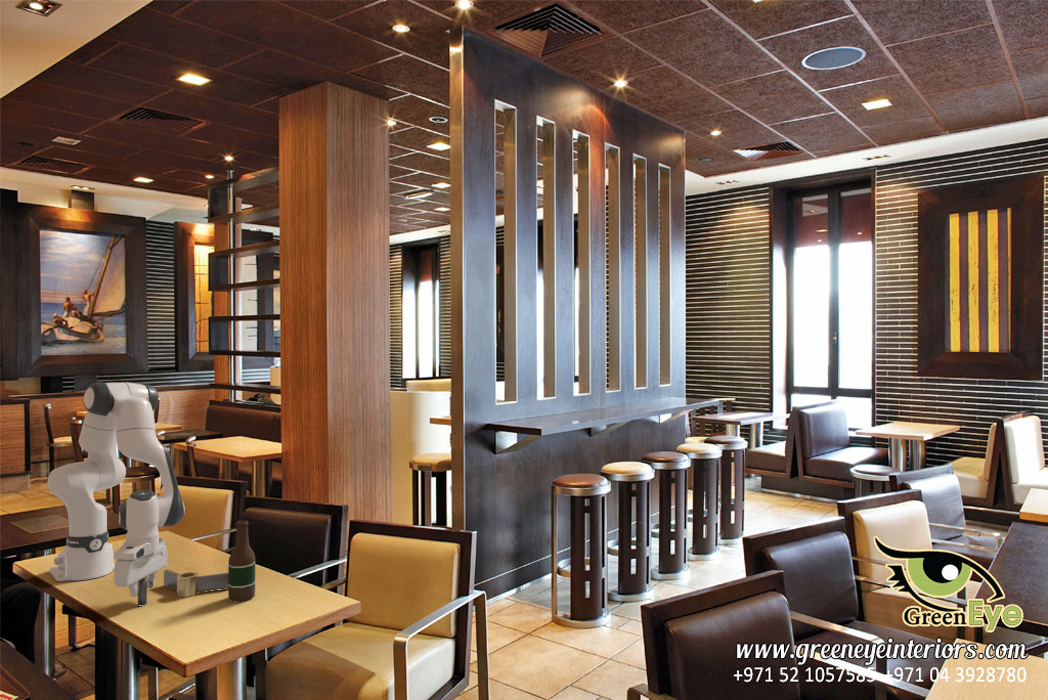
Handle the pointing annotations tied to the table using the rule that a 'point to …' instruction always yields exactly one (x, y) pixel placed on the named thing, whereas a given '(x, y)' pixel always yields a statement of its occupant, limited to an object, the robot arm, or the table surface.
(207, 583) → the hinge
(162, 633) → the table surface
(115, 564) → the robot arm
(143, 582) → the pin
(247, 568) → the beer bottle
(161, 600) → the table surface
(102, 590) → the table surface
